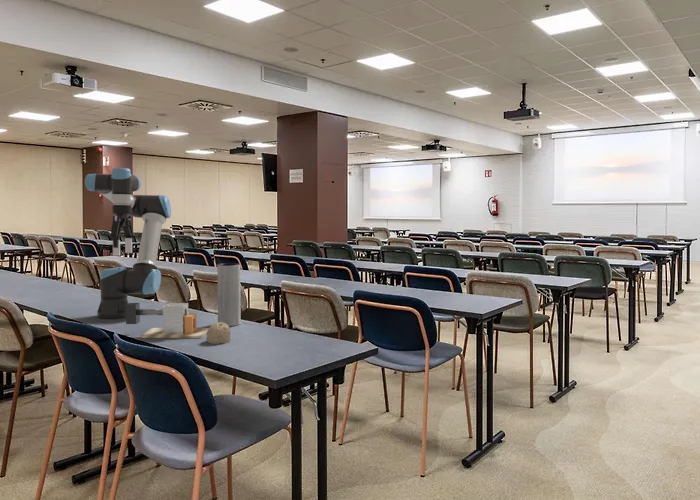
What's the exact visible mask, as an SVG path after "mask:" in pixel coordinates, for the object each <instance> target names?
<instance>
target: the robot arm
mask: <svg viewBox="0 0 700 500" xmlns="http://www.w3.org/2000/svg"><path fill="white" fill-rule="evenodd" d="M84 185H85V188H86V190H87V191H89V192H98V193H99V194H101V196H103V197H105V198H106V199H107V200H109V201H110V202H111V203H112V204H113V205H112V207H111V208H112V210H111V211H112V214H115V215H113V216H112V225H111V231H110V235H109V239H110V240H111V241H112V256H116V257H117V256H121V240H120V236H121V233H122V230H123V233H124V235H125V238H124V245H125V246H124V247H125V248H124V249H125V250H124V251H125V254H132V253H133V239H134V238H135V234H134V229H133V224H132V217H134V218H137V219H138V218H141V219H142V221H143V228H142V233H141V238H140V244H139V249H138V256H137V259H136V260H137V262H135V263H133V265H132V269H128V268H127V266H116V267H110V268H104V269H102V270H101V271H100V277H99V281H100V283H99V285H100V302H99V305H98V309H97V311H96V317H97V318H99V319H108V320H110V319H122V318H126V304H128V303H129V300H128V295H154V294H155V293H157V292H158V290H159V288H160V287H161V283H162V272H161V271H160V270H159V267H158V266H157V265H156V263H157V257H158V252H159V247H160V240H161V239H160V238H161V235H162V228H163V225H164V224H165V223H166V221H167V219H170V218H171V217H172V208H171V207H172V206H171V201H170V199H169V197H168V196H167V195H160V194H158V195H157V194H156V195H155V194H154V195H153V194H152V195H151V194H148V195H147V194H132V193H134V192H138V190H139V189H140V188H141V186H142V181H141V179H140V177H138V176H137V175H134V174H132V172H131V169H130V168H127V167H124V168H122V167H115V168H112V169H111V174H109V173H88V174H87V175H85V178H84Z"/></svg>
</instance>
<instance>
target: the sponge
mask: <svg viewBox="0 0 700 500" xmlns="http://www.w3.org/2000/svg"><path fill="white" fill-rule="evenodd" d="M230 327H231V326H228V325H227V324H226V323H224V322H219V323H218V322H214V323H213V324H211V325H210V326H209V327H208V328H209V329H208V332H207V333H206V342H207V343H208V344H211V345H212V344H213V345H220V343H221V344H228V343H230V342H231V330H230V329H231V328H230Z"/></svg>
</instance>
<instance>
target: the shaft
mask: <svg viewBox="0 0 700 500" xmlns="http://www.w3.org/2000/svg"><path fill="white" fill-rule="evenodd" d="M140 307H141V306H140V302H128V304H126V317H125V324H126V325H137V324H139V323H140V322H141V317H140V316H163V308H162V309H159V308H157V309H156V308H155V309H154V308H153V309H150V308H149V309H146V308H145V309H143V308H140Z"/></svg>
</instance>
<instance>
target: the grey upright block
mask: <svg viewBox="0 0 700 500" xmlns="http://www.w3.org/2000/svg"><path fill="white" fill-rule="evenodd" d="M162 309H163V315H162V328H163V334H184V333H185V319H184V317H185V316H186V315H187V314H189V302H168V303H166V304H164V305H163V306H162Z"/></svg>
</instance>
